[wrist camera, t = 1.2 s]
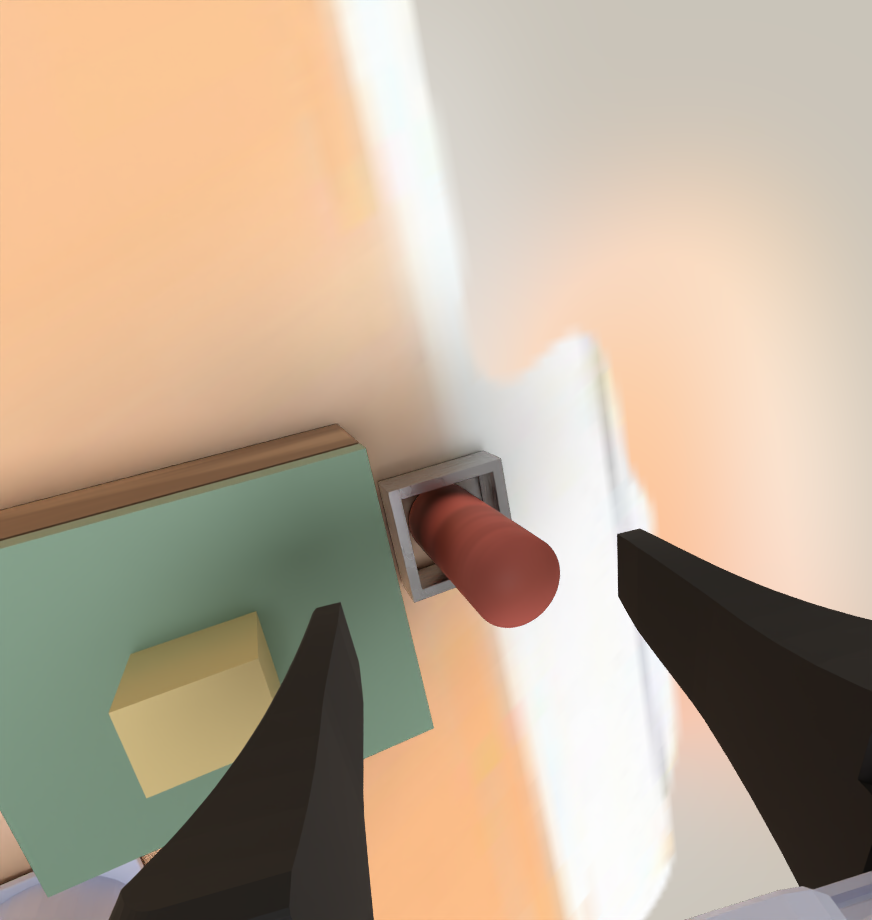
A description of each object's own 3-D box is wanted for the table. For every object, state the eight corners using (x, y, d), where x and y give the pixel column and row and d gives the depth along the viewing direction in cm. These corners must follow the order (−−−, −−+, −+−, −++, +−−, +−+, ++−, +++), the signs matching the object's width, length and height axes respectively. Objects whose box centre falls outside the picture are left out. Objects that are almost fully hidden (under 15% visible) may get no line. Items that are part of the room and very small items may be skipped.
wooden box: (393, 647, 28) (424, 708, 23) (96, 762, 24) (60, 863, 19) (336, 423, 24) (358, 442, 20) (-20, 515, 20) (-96, 565, 16)
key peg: (481, 538, 28) (565, 608, 21) (417, 560, 27) (481, 641, 20) (468, 474, 27) (552, 522, 20) (401, 495, 26) (464, 554, 19)
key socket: (501, 550, 29) (519, 564, 27) (402, 585, 27) (414, 602, 25) (483, 450, 27) (500, 458, 25) (377, 481, 25) (388, 492, 24)
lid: (426, 712, 23) (461, 784, 19) (57, 870, 19) (11, 998, 15) (359, 443, 19) (387, 466, 16) (-102, 569, 16) (-210, 638, 12)
